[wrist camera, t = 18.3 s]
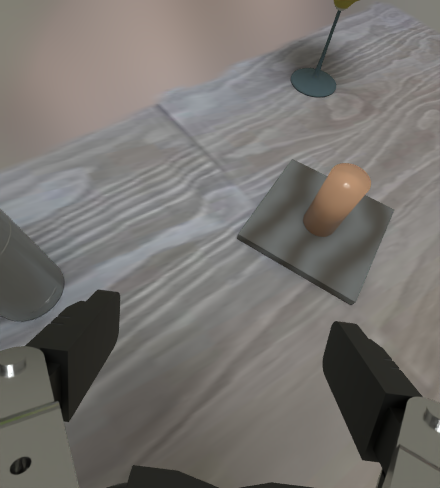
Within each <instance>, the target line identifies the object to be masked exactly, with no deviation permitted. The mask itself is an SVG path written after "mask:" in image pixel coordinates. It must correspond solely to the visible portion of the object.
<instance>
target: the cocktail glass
mask: <svg viewBox="0 0 440 488" xmlns="http://www.w3.org/2000/svg"><path fill="white" fill-rule="evenodd" d="M356 1H359V0H334V4H335V7H336V9H337V10H338V12H337V14H336V17H335V20H334V23H333V26H332V28H331V31H330V34H329V37H328V39H327V42H326V45H325V47H324V50H323V53H322V55H321V58H320V61H319V63H318V65H317V67H316V69H313V68H303V69H299V70H297V71H295V72H294V73H293V74H292V76H291V82H292V85H293V86H294V87H295V88H296V89H297V90H298V91H299V92H301V93H303V94H305V95H308V96H312V97H325V96H329V95H331V94H332V93H333V92H334V91H335V89H336V83H335V80H334V79H333V78H332V77H331V76H330V75H329V74H327V73H325V72H323V71H321V66H322V63H323V60H324V57H325V54H326V51H327V48H328V45H329V43H330V40H331V37H332V34H333V32H334V29H335V26H336V23H337V21H338V18H339V15H340V13H341V11H343V10H345V9H347V8H348V7H349V6H351V5H352V4H353V3H354V2H356Z"/></svg>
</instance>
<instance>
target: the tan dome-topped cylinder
mask: <svg viewBox="0 0 440 488" xmlns="http://www.w3.org/2000/svg"><path fill="white" fill-rule="evenodd" d="M370 187H371V181H370V178H369V176H368V174H367V173H366V172H365V171H364V170H363V169H361V168H360V167H358V166H356V165H353V164H349V163H342V164H338V165H336V166H334V167H333V168H332V170H331V172H330V173H329V175H328V177H327V178H326V180H325V182H324V183H323V185H322V187H321V188H320V190H319V192H318V193H317V195H316V197H315V198H314V200H313V202H312V203H311V205H310V206H309V208H308V210H307V211H306V213H305V215H304V218H303V222H304V225H305V227H306V229H307V230H308V231H309V232H310V233H312V234H314V235H316V236H320V237H326V236H329V235H331V234H332V233H333V232H334V231H335V230H336V229H337V228H338V226H339V225H340V224H341V223H342V222H343V220H344V219H345V218H346V217H347V216H348V214H349V213H350V212H351V211H352V210H353V209H354V207H355V206H356V205H357V204H358V203H359V201H360V200H361V199H362V198H363V197H364V195H365V194H366V193H367V192H368V191H369V189H370Z"/></svg>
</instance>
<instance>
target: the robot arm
mask: <svg viewBox="0 0 440 488" xmlns="http://www.w3.org/2000/svg"><path fill="white" fill-rule="evenodd" d="M63 288H64V278H63V274H62V272H61V270H60V269H59V268H58V266H57V265H56V264H55V263H54V262H53V261H52V260H51V259H50V258H49V257H48V256H47V255H46V254H45V253H44V252H43V251H42V250H41V249H40V248H39V247H38V246H37V245H36V244H35V243H34V242H33V241H32V240H31V239H30V238H29V237H28V236H27V235H26V234H25V233H24V232H23V231H22V230H21V229H20V228H19V227H18V226H17V225H16V224H15V223H14V222H13V221H12V220H11V219H10V218H9V217H8V216H7V215H6V214H5V213H4V212H3V211H2V210H1V209H0V316H2V317H4V318H7V319H9V320H13V321H27V320H31V319H34V318H37V317H39V316H41V315H43V314H44V313H46V312H47V311H49V310H50V309H51V308H52V307H53V306H54V305H55V304H56V302H57V301H58V300H59V298H60V296H61V294H62V291H63ZM119 316H120V294H119V292H113V291H105V290H97V291H96V292H95V293H94V294H93V295H92V296H91V297H90V298H89V299H88V300H87V301H86V302H85V301H79V302H77V303H75V304H73V305H70V306H68V307H67V308H66V309H65V310H63V311H62V312H61V313H60V314H59V315H58V317H56V318H55V319H54V320H53V321H52V322H51V324H48V325H47V326H46V327H45V328H44V329H43V330H42V331H41V332H40V333H39V334H37V335H36V336H35V337H34V338H33V339H32V340H31V341H30V342H29V343H28V344H27V345H26V346H21V347H13V348H9V349H5V350H2V351H0V488H79V485H78V481H77V476H76V472H75V468H74V464H73V459H72V455H71V451H70V447H69V443H68V438H67V434H66V430H65V426H64V422H63V421H65V422H69V421H70V419H71V418H72V416H73V414H74V413H75V411H76V409H77V408H78V406H79V404H80V403H81V401H82V399H83V398H84V396H85V394H86V393H87V391H88V390H89V388H90V386H91V385H92V383H93V381H94V380H95V378H96V376H97V375H98V373H99V371H100V370H101V368H102V366H103V365H104V363H105V361H106V360H107V358H108V356H109V355H110V353H111V351H112V350H113V348H114V346H115V344H116V341H117V338H118V333H119ZM323 372H324V375H325V377H326V380H327V382H328V384H329V386H330V389H331V391H332V393H333V395H334V398H335V400H336V402H337V404H338V407H339V409H340V411H341V413H342V416H343V418H344V420H345V422H346V425H347V427H348V429H349V431H350V434H351V436H352V438H353V440H354V443H355V445H356V447H357V449H358V452H359V454H360V456H361V458H362V460H365V461H373V462H380V464H381V466H382V470H381V473H380V475H379V478H378V482H377V485H376V488H440V403H439V402H436V401H434V400H431V399H428V398H424V397H422V395H421V394H420V393H419V392H418V391H417V389H416V388H415V387H414V386H413V384H412V383H411V382H410V381H409V380H408V378H407V377H406V376H405V375H404V373H403V372H402V371H401V370H399V367H398V366H397V365H396V364H395V362H394V361H392V359H391V357H390V356H389V355H388V354H387V353H386V351H385V350H384V349H383V348H382V347H380V346H379V345H378V344H376V343H375V342H374V341H372V340H371V339H368V338H367V336H366V335H365V334H364V333H363V331H362V330H361V329H360V327H359V326H358V325H357V324H353V323H346V322H338V321H335V322H334V323H333V324H332V326H331V330H330V333H329V337H328V341H327V345H326V348H325V352H324V356H323ZM107 488H218V487H216V486H213V485H211V484H209V483H206V482H204V481H201V480H199V479H196V478H194V477H192V476H189V475H187V474H184V473H182V472H180V471H175V470H167V469H159V468H151V467H143V466H135V465H133V466H132V469H131V473H130V476H129V479H128V482H127V483H122V484H117V485H114V486H110V487H107ZM241 488H312V487H304V486H296V485H288V484H280V483H272V482H271V483H265V484H259V485H253V486H247V487H241Z"/></svg>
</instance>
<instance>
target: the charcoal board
mask: <svg viewBox="0 0 440 488" xmlns="http://www.w3.org/2000/svg"><path fill="white" fill-rule="evenodd" d="M326 178H327V176H325V175H323V174H321V173H319V172H317V171H315V170H313V169H311V168H309V167H307V166H305V165H303V164H301V163H299V162H297V161H295V160H293V159H292V160H291V162H290V163H289V164H288V166H287V167H286V169H285V170H284V171H283V173H282V174H281V175H280V177H279V178H278V180H277V181H276V182H275V184H274V185H273V187H272V188H271V189H270V191H269V192H268V193H267V195H266V196H265V198H264V199H263V200H262V202H261V203H260V205H259V206H258V207H257V209H256V210H255V211H254V213H253V214H252V216H251V217H250V218H249V220H248V221H247V223H246V224H245V225H244V227H243V228H242V229H241V231H240V232H239V234H238V237H237V239H239V240H240V241H242V242H244V243H245V244H247V245H249V246H250V247H252V248H254V249H256V250H257V251H259V252H261V253H262V254H264V255H266V256H268V257H269V258H271V259H273V260H274V261H276V262H278V263H280V264H281V265H283V266H285V267H286V268H288V269H290V270H292V271H293V272H295V273H297V274H298V275H300V276H302V277H304V278H305V279H307V280H309V281H310V282H312V283H314V284H315V285H317V286H319V287H321V288H322V289H324V290H326V291H327V292H329V293H331V294H333V295H334V296H336V297H338V298H339V299H341V300H343V301H345V302H346V303H348V304H350V305H352V304H354V303H355V302H356V300H357V298H358V296H359V293H360V291H361V288H362V286H363V284H364V281H365V279H366V276H367V274H368V272H369V269H370V267H371V264H372V262H373V260H374V257H375V255H376V252H377V250H378V248H379V245H380V243H381V241H382V238H383V236H384V233H385V231H386V229H387V226H388V224H389V221H390V219H391V217H392V214H393V212H394V209H392V208H390V207H388V206H386V205H384V204H382V203H380V202H378V201H376V200H374V199H372V198H370V197H368V196H366V195H364V197H363V198H362V199H361V200H360V201H359V203H358V204H357V205H356V206H355V207H354V209H353V210H352V211H351V212H350V213H349V214H348V216H347V217H346V218H345V219H344V220H343V222H342V223H341V224H340V225H339V226H338V228H337V229H336V230H335V231H334V232H333V233H332V234H331V235H329V236H326V237H320V236H316V235H314V234H312V233H310V232H309V231H308V230H307V229H306V227H305V225H304V222H303V218H304V215H305V213H306V211H307V210H308V208H309V206H310V205H311V203H312V202H313V200H314V198H315V197H316V195H317V193H318V192H319V190H320V188H321V187H322V185H323V183H324V182H325V180H326Z"/></svg>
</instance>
